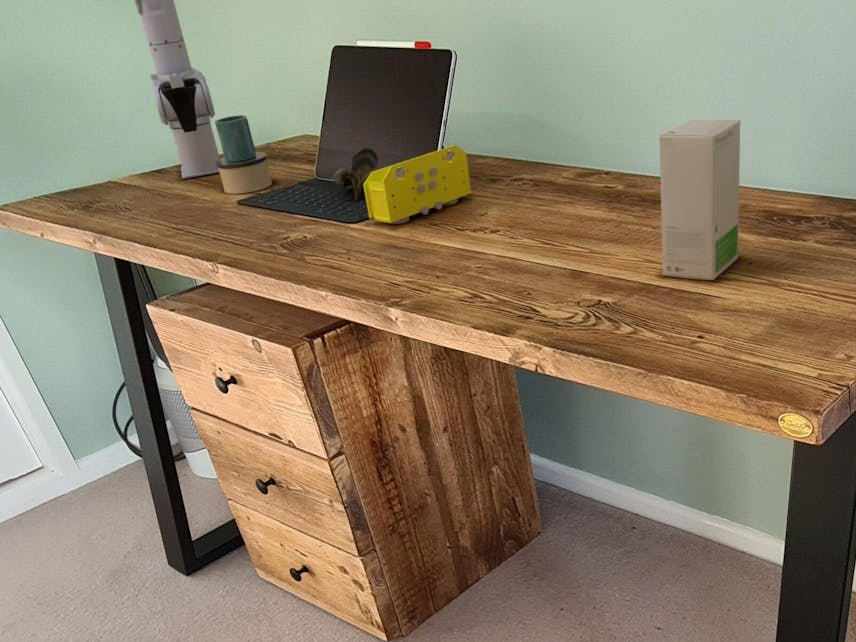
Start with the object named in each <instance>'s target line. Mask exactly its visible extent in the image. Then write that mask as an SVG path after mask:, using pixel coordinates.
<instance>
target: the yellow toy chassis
mask: <svg viewBox="0 0 856 642" xmlns="http://www.w3.org/2000/svg"><path fill="white" fill-rule="evenodd" d="M470 181H471V180H470V174H469V165H468V158H467V152H466V151H465V150H463V148H461V147H459V146H457V145H456V144H453V145H451V146H448V147H445V148H441V149H439V150H436V151H435V150H434V151H432V152H429V153H426V154H423V155H420V156H419V155H418V156H417V157H413V158H410V159H407V160H404V161H401V162H398V163H395V164H392V165H389V166H386V167H382V168H380V169H377V170H373V172H371V174H370V175H369V177H368V178H367V180H366V181H365V183H364V184H363V186H364V188H363V192H364V196H365V201H366V207H367V213H368V218H369V219H370V220H371V219H374V220H376V222H382V223H386V224H391V225H399V224H404V223H407V222H409V221H410V217H411V216H414V215H416V214H419V213H421V214H422V215H425V216H426V215H428V214H429V211H430V210H429V209H432V208H435V209H436V210H441V209H442V207H443V206H451V205H454V204H457V203H458V202H459V201H458V199H459V198H462V197H464V196H467V195H470V194H472V190H471V182H470Z"/></svg>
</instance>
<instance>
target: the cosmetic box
mask: <svg viewBox="0 0 856 642" xmlns="http://www.w3.org/2000/svg"><path fill="white" fill-rule="evenodd" d="M658 140H659V141H658V142H659V170H660V171H659V173H660V174H659V175H660V211H661V213H660V214H661V218H660V219H661V256H662V257H661V258H662V259H661V260H662V263H661V264H662V274H661V275H662V276H665V277H666V276H667V277H671V278H672V277H673V278H681V279H682V278H683V279H691V280H703V281H714V280H715V279H717V277H719V276H720V275H721V274H722V273H723V272H724V271H725V270H726V269H728V268H729V267H730V266H731V265H732V264H733V263H735V262H736V261H737V260H738V258H739V227H740V226H739V221H740V217H739V216H740V213H739V212H740V161H741V160H740V159H741V158H740V157H741V156H740V154H741V153H740V152H741V144H740V143H741V119H689V120H686V121H684V122H682V123H680V124H678V125H673V126H671V127H670V128H669V129H668V130H666V131H664V132H662V133H659V135H658Z"/></svg>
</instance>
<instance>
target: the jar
mask: <svg viewBox="0 0 856 642" xmlns="http://www.w3.org/2000/svg"><path fill="white" fill-rule="evenodd" d="M216 166H217V167H218V170H219V173H218V174H219V176H220V177H219V178H220V181H221V184H222V188H223V191H224V193H226V194H233V195H234V194H235V195H236V194H247V193H252V192H258V191H260V190H264V189H266V188H268V187H270V186H272V184H273V180H272V176H271V171H270V168H269V163H268V155H267V153H266V152H264V151H256V156H255V157H253V158H250V159H247V160H242V161H236V162H228V161H226V160H225V157H224V156H223V157H220V159H218V160H217V161H216Z"/></svg>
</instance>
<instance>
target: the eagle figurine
mask: <svg viewBox="0 0 856 642" xmlns="http://www.w3.org/2000/svg"><path fill="white" fill-rule="evenodd" d="M378 162H379V157H378V155H377V152H375V150H373V148H368V147H365V148H362V149H361V150H360V151H359V152H356V154H355V155H353V157H352V158H351V166H350V171H349V170H348V169H347V168H346V167H342V168H340V169H338V170H337V171H336V172H334V173H335V174H334V175H333V181H334V184H336V185H337V186H339V185H340V187H344V188H347V189H348V190H349V189H351V190H353V192H354V200H355V201H357V200H358V198H359V197H360V195H361V193H362V190H363V189H364V186H363V184H364V183H365V181H366V180H367V178H368V177H369V175H370V174H371V172H373V171H374V169H376V168H377V167H378V165H379V164H378Z"/></svg>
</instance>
